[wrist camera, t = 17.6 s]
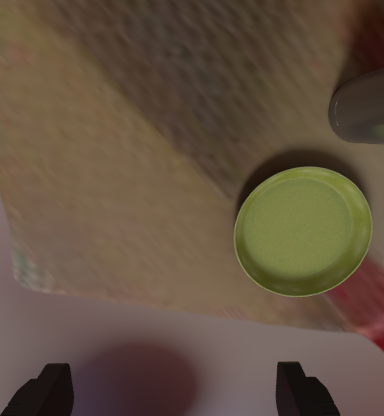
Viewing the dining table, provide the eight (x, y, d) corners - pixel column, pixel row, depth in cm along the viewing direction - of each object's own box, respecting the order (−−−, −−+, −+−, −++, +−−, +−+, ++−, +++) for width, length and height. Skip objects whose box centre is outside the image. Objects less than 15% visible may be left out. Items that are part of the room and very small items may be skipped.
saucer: (240, 158, 45) (243, 160, 42) (374, 170, 46) (388, 173, 43) (224, 282, 50) (226, 291, 47) (345, 292, 51) (355, 303, 48)
